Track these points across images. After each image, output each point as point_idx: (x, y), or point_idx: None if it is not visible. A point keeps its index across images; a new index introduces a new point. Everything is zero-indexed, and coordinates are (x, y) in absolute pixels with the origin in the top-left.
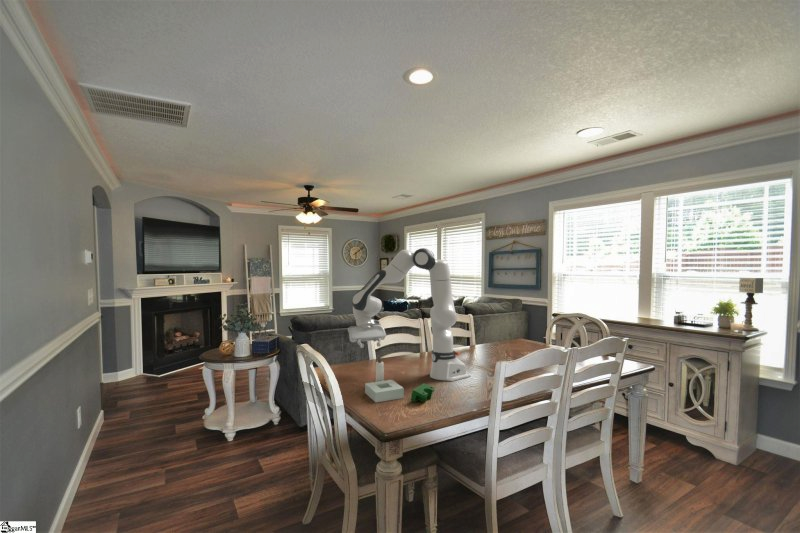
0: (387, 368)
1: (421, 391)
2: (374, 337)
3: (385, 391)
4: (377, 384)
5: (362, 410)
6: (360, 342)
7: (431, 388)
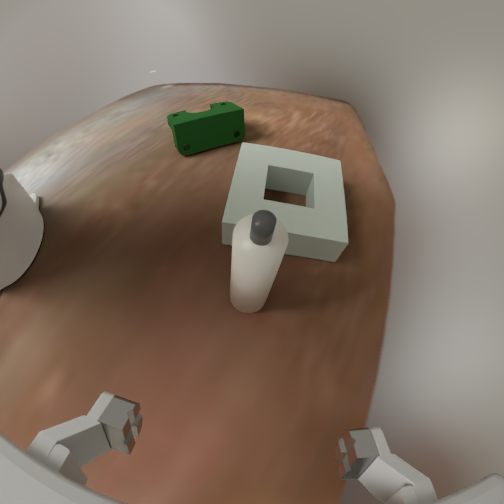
0: None
1: (222, 106)
2: (122, 502)
3: (307, 154)
4: (307, 207)
5: (372, 169)
6: (399, 466)
7: (179, 113)
